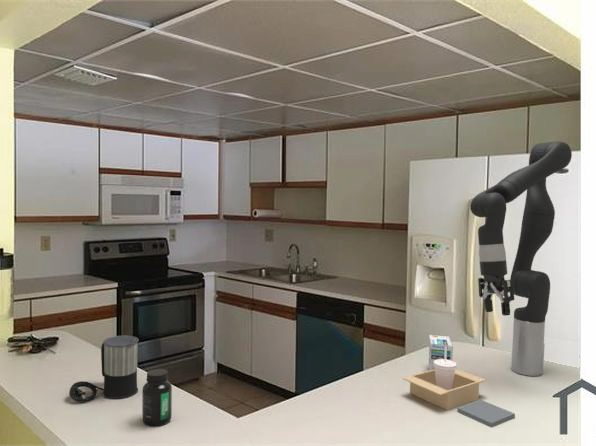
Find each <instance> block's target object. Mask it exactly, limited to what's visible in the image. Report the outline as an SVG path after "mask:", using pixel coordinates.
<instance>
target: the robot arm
mask: <svg viewBox="0 0 596 446" xmlns="http://www.w3.org/2000/svg"><path fill="white" fill-rule="evenodd" d="M572 154H573V153H572V150H571V147H570V146H569V144H568V143H567V142H564V141H547V142H539V143H537V144H535V145H533V147H532V149H531V150H530V153H529V158H528V165H526V166H524V167H522V168H519V169H517V170H514V171H513V172H511V173H509V174H507V176H505V177H503V178H502V179H501V180H500V181H499V182H497V183H496V184H495V185H493V186H491V187H488V188H487V189H485V190H483V191H481V192H479V193H478V194H477V195H475V196H474V197H473V198H472V200H471V202H470V206H469V208H470V212H471V213H472V214H473V215H474V216H475V217H477V218H486V219H485V223H484V224H483V225H481V226H479V227H478V229H477V235H478V236H477V238H478V245H479V246H478V257H479V259H478V260H479V268H480V269H479V270H480V272H479V273H480V276H482V277H479V278H478V279H477V283H478V284H477V285H478V297H479V298H482V300H483V302H484V303H483V304H484V311H485V312H486V313H493V311H494V307H493V296H494V295H495V296H497V298H499V300H500V302H501V303H500V304H501V305H500V307H501V315H502V316H510V315H511V308H510V307H511V306H510V305H511V304H510V303H511V302H512V301H514V300H515V296H517V297H521V298H525V299H527V304H526V306H524V307H517V308H515V309H514V311H513V323H512V324H513V325H512V326H513V327H512V328H513V329H512V349H511V362H510V363H511V366H510V369H511V371H512V372H515V373H517V374H520V375H524V376H528V377H533V376H534V377H538V376H542V375H543V372H544V360H545V358H544V357H545V327H546V316H547V314H548V310H549V303H550V294H551V281H550V277H549V275H548V274H547V273H545V272H543V271H540V270H539V271H538V270H534V269H532V266H533V261H534V259H535V256H536V254H537V252H538V251H539V250H540V249H541V247H542V246H543V245H544V244H545V243H546V241H547V240H548V239H549V237H550V236H551V234H552V232H553V229H554V223H555V217H556V216H555V215H556V211H555V207H554V204H553V201H552V199H551V197H550V195H549V192H548V190H547V178H548V177H550V176H553V174H555V173H558V172H559V171H561V170H563V169H565V168H566V167H567V166H568V165H569V164H570V162H571V160H572ZM524 192H526V195H525V196H526V197H525V204H524V208H523V215H522V218H521V219H522V220H521V228H520V235H519V239H518V240H519V241H518V246H517V251H516V254H515V259H514V262H513V266H512V270H511V274H510V277H509V278H510V279H505V276H506V275H508V266H507V264H508V263H507V255H506V254H507V253H506V248H505V241H504V233H503V230H504V225H505V219H506V214H507V204H509V203H510V202H513V201H515V199H518V197H520V196H521V195H522V194H524ZM541 374H542V375H541Z"/></svg>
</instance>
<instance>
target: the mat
mask: <svg viewBox="0 0 596 446" xmlns="http://www.w3.org/2000/svg"><path fill="white" fill-rule="evenodd" d="M456 410H457V412H458V413H459V414H461V415H464V416H467V417H468V418H470V419H472V420H475V421H477V422H479V423H482V424H483V425H486V426H488V427H490V428H492V427H495V426H498V425H500V424H502V423H505V422H507V421H511V420H512V419H514V418H516V413H514V412H512V411H509V410H507V409H505V408H501V407H500V406H497V405H494V404H493V403H490V402H487V401H485V400H483V399H480V400H479V399H478V400H476V401H473V402H470V403H467V404H464V405H461V406H459V407H457V409H456Z"/></svg>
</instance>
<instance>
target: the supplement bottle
mask: <svg viewBox="0 0 596 446" xmlns="http://www.w3.org/2000/svg"><path fill="white" fill-rule="evenodd" d="M168 373H169V372H168V370H166V369H162V368H156V369H151V370H149V371H148V372H147V373H146V382H145V384H144V385H143V386H142V397H141V398H142V401H141V402H142V403H141V405H142V408H141V409H142V411H141V414H142V415H141V416H142V423H143V424H144V425H145V426H147V427H154V428H156V427H162V426H165V425H168V424H169V423H170V421H171V419H172V412H173V411H172V409H173V408H172V406H173V404H172V403H173V401H172V400H173V397H172V396H173V387H172V383H171V382H170V381H168V380H169V376H168V375H169V374H168Z"/></svg>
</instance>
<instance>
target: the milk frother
mask: <svg viewBox="0 0 596 446" xmlns="http://www.w3.org/2000/svg"><path fill="white" fill-rule="evenodd" d="M138 343H139V338H138V337H136V336H133V335H116V336H115V335H114V336H110V337H107V338H105V339H104V340H103V341H102V343H101V347H100V349H101V350H100V353H101V354H100V355H101V356H100V357H101V374H102V377H103V388H102V387H99V386H97V385H96V384H94V383H91V382H89V381H81V380H80V381H77V382H75V383H73V384H72V385H71V386H70V387H69V388H70V389H69V393H68V394H69V397H70V399H72V400H73V401H76V402H80V403H81V402H82V403H83V402H84V403H85V402H89V401H92V400H94V399H95V398H96V397H97V395H98V390H101V391H103V392H102V396H103V397H104V398H106V399H114V400H115V399H116V400H121V399H126V398H129V397H133V396H134V395H136V394H137V393H138V392H139V389H138V346H139V345H138ZM81 387H83V388H88V389H89V390H91V394H90V395H88V396H86V393H87V392H86V391H83V390H82V389H81Z"/></svg>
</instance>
